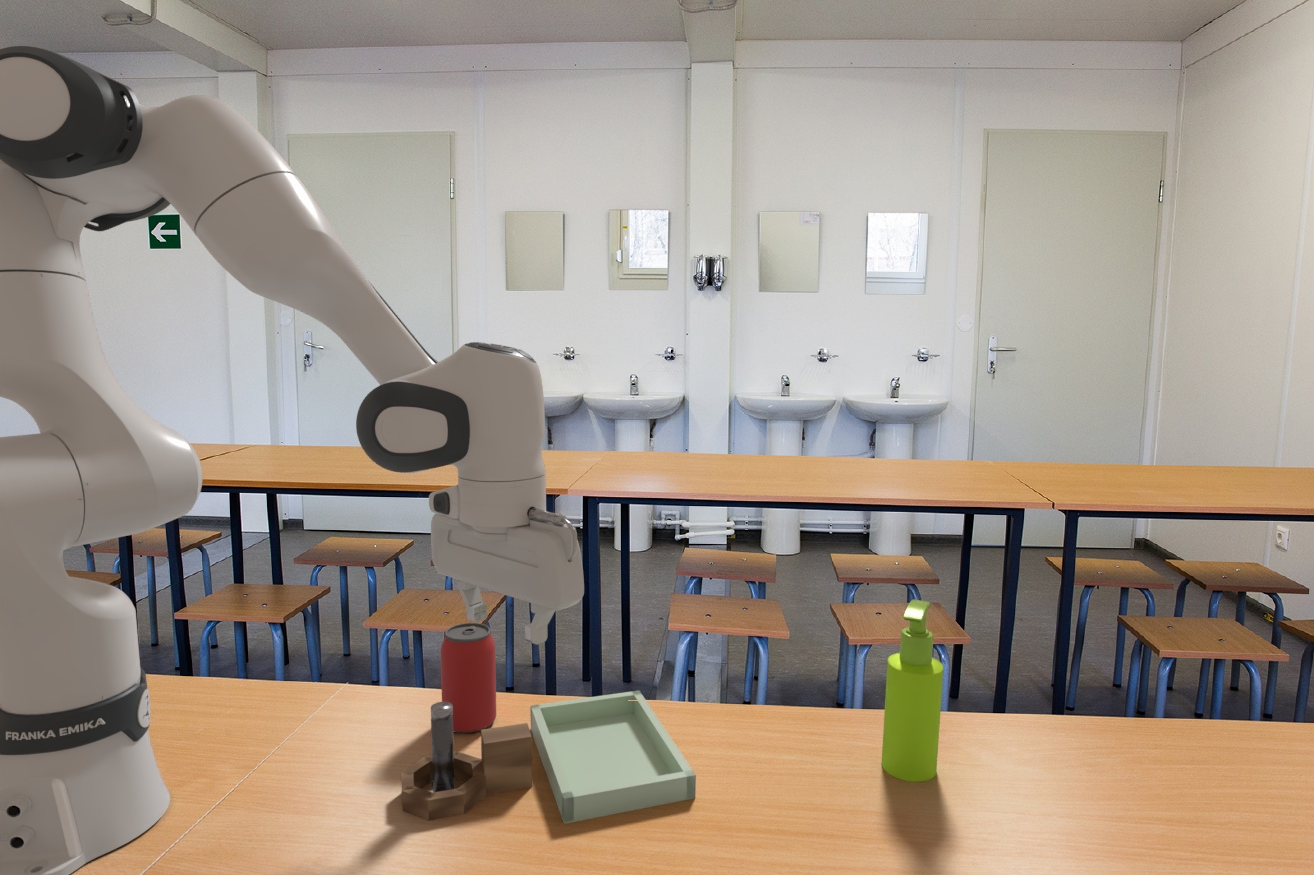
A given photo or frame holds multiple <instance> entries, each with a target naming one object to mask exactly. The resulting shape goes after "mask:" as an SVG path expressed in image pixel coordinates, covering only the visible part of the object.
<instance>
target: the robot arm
mask: <svg viewBox="0 0 1314 875" xmlns="http://www.w3.org/2000/svg"><path fill="white" fill-rule="evenodd" d="M170 205H171V206H172V207H173V208H174V209H175V211H177V213H178V214H179V215H180V217H181V218H182V219H183V220H184V221H185V223H186V225H188V227H189V228H190V229H191V231H192V232H193V233H194V235H195V236H196V237H197V238H198V239H199V241H200V242H201V244H202V245H203V246H204V248H205V249H206V251H208V253H209V254H210V255H211V257H213V259H214V260H215V261H216V262H217V263H218V264H219V265H220V266H221V267H222V268H223V269H224V270H226V272H227V273H229V274H230V275H231V277H233V278H234V279H235V280H237V282H238V283H240V284H241V285H242V286H244V287H245V288H246V290H248V291H250V292H251V293H253V294H256V295H258V296H260V297H263V298H266V299H268V300H271V301H274V302H276V303H279V304H281V305H284V306H287V307H289V308H291V309H294V310H296V311H299V312H301V313H303V314H305V315H307V316H309V317H311V318H312V319H314V320H316V321H318V322H320V323H321V324H323V325H324V326H326V327H327V328H329V329H330V330H331V332H333V333H334V334H335V335H336V336H337V337H338V338H339V339H340V340H341V341H343V343H344V344H345V346H346V347H347V348H348V349H349V350H350V351H351V352H352V354H354V356H355V357H356V358H357V359H358V360H359V362H360V363H361V364H362V366H364V367H365V369H366V370H367V371H368V372H369V374H370V375H371V376H372V377H373V378H374V379H375V380H376V382H377V383H378V384H379V385H378V386H376V387H374V388H373V389H372V390H370V392H369V393H368V394H367V395H366V396H365V397H364V398H363V399H362V402H361V403H360V405H359V408H358V409H357V410H358V411H357V414H356V418H355V419H356V420H355V422H356V423H355V426H356V429H355V430H356V436H357V439H358V441H359V444H360V446H361V448H362V450H363V452H364V453H365V454H366V456H367V457H368V458H369V459H370V460H371V461H372V462H373V463H374V464H376V465H377V466H379V467H380V468H382V469H384V470H387V471H389V472H393V473H401V474H402V473H404V474H412V473H413V474H414V473H421V472H425V471H428V470H431V469H432V470H433V469H437V468H441V467H445V466H454V467H456V470H457V481H458V482H457V483H458V484H457V485H452V486H450V487H446V488H443V489H439V490H435V491H433V492H430V494H429V495H428V507H429V510H430V512H432V513H434V515H433V516H432V518H431V522H430V546H431V559H432V563H433V565H434V567H435V570H436V571H437V573H438V574H439V575H444V576H446V577H449V578H452V579H456V580H457V589H458V591H459V593H460V595H461V598H462V600H463V603H464V605H465V609H466V610H465V614H466V619H467V620H469V621H471V622H473V623H479V622H482V621H483V622H484V621H486V620H487V618H488V616H489V614H488V603H487V602H484V601H483V598H482V594H481V591H480V588H483V589H486V590H489V591H492V592H496V593H499V594H502V595H505V596H507V597H510V598H514V599H516V600H521V601H523V602H526V603H529V604H530V611H531V613H533V614H534V616H533V618H532V621H531V623H528V624H526V625H524V633H525V635H524V639H525V641H527V642H529V643H532V644H534V645H540V644H543V643H545V642H546V641H548V640H547V639H548V625H549V624H550V623H551V620H552V618H553V617H554V614H555V612H558V611H562V610H565V609H567V608H570V607H572V606H574V605H577V604H578V603H579V602H580V601H581V600H582V598H583V597H584V594H585V583H584V582H585V581H584V580H585V579H584V569H583V561H582V554H581V549H580V544H579V541H578V533H577V528H576V527H574V526H573V524H572V523H571V522H570V521H569V520H568V518H567V516H566V515H564V514H562V513H559V512H551V511H548V510H547V483H546V482H547V481H546V480H547V479H546V478H547V475H546V465H545V463H544V459H543V454H542V447H543V446H542V445H543V440H544V437H545V432H546V418H545V417H546V416H545V415H546V414H545V398H544V396H545V395H544V388H543V387H544V386H543V380H542V375H541V371H540V367H539V365H538V363H537V361H536V360H535V359H534V358H533V356H531V355H530V354H529V353H528V352H526V351H524V350H523V349H521V348H520V349H518V348H515V347H510V346H506V345H502V344H496V343H486V342H479V341H477V342H476V341H475V342H474V341H473V342H468V343H465V344H462V345H461V346H460V347H459V348H458V349H457V350H455V352H454V353H452V354H450V355H448V356H447V357H445V358H444V359H441V360H440V361H438V360H437V359H436V358H434V357H433V356H432V355H431V354H430V353H429V352H428V351H427V350H426V348H424V346H423V345H422V344H421V343H420V342H419V340H418V339H417V338H416V337H415V335H414V334H413V333H412V332H411V331H410V329H409V328H408V327H407V326H406V325H405V323H404V322H403V321H402V319H401V318H400V317H399V316H398V315H397V313H396V312H395V311H394V310H393V309H392V307H391V306H390V305H389V304H388V302H387V301H386V300H385V299H384V298H383V296H382V295H381V294H380V293H379V292H378V291H377V289H376V288H375V287H374V286H373V285H372V283H371V281H370V280H368V277H366V274H364V272H363V270H362V268H360V266H359V264H358V263H357V261H356V260H355V258H354V257H353V256H352V254H351V253H350V251H349V250H348V249H347V246H346V245H345V244H344V242H343V241H342V239H341V238H340V236H339V234H338V233H337V232H336V230H335V228H334V227H333V226H332V224H331V222H330V221H329V219H328V218H327V216H326V215H325V213H324V212H323V211H322V209H321V207H320V206H319V204H318V203H317V202H316V200H315V199H314V197H313V195H312V194H311V193H310V191H309V190H308V188H307V187H306V185H305V184H304V183H303V182H302V181H301V179H300V178H299V177H298V175H297V174H296V173H295V171H294V170H293V169H292V168H291V165H289V164H288V162H287V161H286V160H285V159H284V158H283V157H282V155H281V154H280V153H279V152H278V151H277V150H276V148H275V147H274V146H273V145H272V144H271V143H270V142H269V141H268V139H266V138H265V136H263V135H262V133H261V132H260V131H258V129H257V128H256V127H254V126H253V124H252V123H250V121H249V120H248V119H246V118H245V117H244V116H243V115H242V114H241V113H240V112H239V111H238V110H237V109H235V108H234V107H233V106H232V105H231V104H229V103H227V102H226V101H225V100H222V99H219V98H217V97H214V96H209V95H203V94H202V95H201V94H197V95H195V94H194V95H186V96H182V97H179V98H175V99H173V100H171V101H170V102H167V103H165V104H163V105H160V106H157V107H156V106H154V107H152V106H148V105H145V104H142V103H140V102H139V100H138V98H137V96H136V93H135V92H134V91H133V89H132V88H130V87H129V86H128V85H127V84H124V83H121V82H119V81H117V80H116V79H114V78H111V77H109V76H107V75H104V74H102V73H101V72H98V71H97V70H95V69H93V68H91V67H89V66H87V65H85V64H83V63H81V62H78V61H77V60H74V59H72V58H71V57H68V56H65V55H62V54H60V53H57V52H55V51H51V50H48V49H45V48H41V47H36V46H31V45H30V46H29V45H16V46H14V45H13V46H8V47H4V48H0V398H4V399H7V400H9V401H13V402H14V403H16V404H17V405H18V406H20V407H21V408H22V409H24V410H25V411H26V412H27V413H28V414H29V415H30V416H31V418H32V419H33V420H34V422H35V423H36V425H37V427H38V430H39V433H31V434H20V435H19V434H18V435H10V436H9V435H8V436H0V875H71V874H72V873H73V872H75V871H76V870H78V869H79V868H81V867H82V866H84V865H85V864H87V863H88V862H91V861H92V860H94V859H96V858H98V857H100V856H103V855H105V854H108V853H110V852H112V851H114V850H116V849H118V848H120V847H122V846H124V845H125V844H128V843H129V842H131V841H133V840H134V839H136V838H138V837H139V836H140V835H142V834H143V833H145V832H146V831H147V830H149V829H150V828H151V827H152V826H154V825H155V824H156V823H157V822H158V821H159V820H160V819H161V818H162V816H163V815H164V814H165V813H166V812H167V809H168V807H169V805H170V804H171V803H170V802H171V792H170V791H169V788H168V787H167V785H166V784H165V781H164V779H163V777H162V775H161V771H160V769H159V766H158V763H157V760H156V757H155V753H154V749H153V746H152V742H151V738H150V737H151V736H150V733H149V732H150V731H149V727H150V723H151V715H152V714H151V712H152V711H151V698H150V690H149V688H148V682H147V674H146V672H145V670H144V669H143V668H141V659H140V647H139V636H138V623H137V612H136V607H135V606H134V604H133V601H132V600H131V599H130V597H129V596H128V595H127V594H126V593H125V592H124V591H122V590H121V589H119V588H118V587H116V586H115V585H114V586H113V585H111V584H109V583H105V582H102V581H98V580H93V579H88V578H83V577H76V576H70V575H69V573H68V572H67V570H66V568H65V564H64V557H63V556H64V551H65V550H68V549H70V548H74V547H78V546H83V545H88V544H93V543H98V542H102V541H107V540H108V541H109V540H112V539H117V538H122V537H126V536H132V535H137V534H140V533H144V532H147V531H150V530H152V529H155V528H157V527H159V526H162V525H165V524H167V523H169V522H172V521H174V520H176V519H179V518H181V517H184V516H185V515H187V514H189V513H190V511H191V510H192V509H193V508H194V506H195V505H196V503H197V501H198V499H199V497H200V494H201V492H202V487H203V468H202V464H201V460H200V458H199V456H198V453H197V451H196V450H195V448H194V447H193V445H192V444H191V443H190V442H189V441H188V440H187V439H186V437H184V436H182V434H180V433H179V432H178V431H176V430H174V429H172V428H170V427H169V426H166V425H164V424H162V423H161V422H159V421H157V420H156V419H155V418H153V417H151V415H149V414H148V413H146V412H145V411H144V410H143V409H142V408H141V407H140V406H139V405H138V404H136V402H135V401H134V400H133V399H132V398H131V397H130V396H129V395H128V394H127V392H126V391H125V389H124V388H123V387H122V385H121V384H120V383H119V381H118V380H117V378H116V377H115V375H114V374H113V373H114V372H113V370H111V368H110V366H109V364H108V361H107V359H106V356H105V354H104V353H105V352H104V351H103V347H102V343H101V341H100V340H101V339H100V336H99V333H98V329H97V325H96V320H95V317H94V313H93V309H92V305H91V304H92V303H91V298H90V295H89V289H88V284H87V279H86V275H85V269H84V266H83V260H82V255H81V248H80V247H81V246H80V240H81V233H82V231H83V229H84V228H85V229H88V230H91V231H95V232H105V231H109V230H111V229H113V228H116V227H118V226H121V225H122V224H126V223H128V222H134V221H138V220H143V219H145V218H149V217H151V216H155V215H157V214H159V213H161V212H162V211H163V210H165V209H166V208H168V207H169V206H170ZM92 223H93V224H92ZM95 224H97V225H95Z"/></svg>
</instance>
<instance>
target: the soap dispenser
mask: <svg viewBox="0 0 1314 875" xmlns="http://www.w3.org/2000/svg"><path fill="white" fill-rule="evenodd" d="M930 607H931V602H929V601H925V600H918V599H912V600H910V602H909V603H908V605H907V607H906V609H905V612H904V615H903V620H904V621H908V622H909V626H907V627H904V628H902V629H901V632H900V646H899V652H896V653H893V654H891V655H889V656H888V658H887V666H886V667H887V668H886V683H885V698H884V701H885V702H884V716H883V730H882V731H883V732H882V746H881V747H882V750H881V766H882V767H881V768H882V769H883V770H884V771H885V772H886V773H888V775H890V776H891V777H894V778H896V779H900V780H901V781H902V780H903V781H906V782H914V783H918V782H919V783H921V782H922V783H923V782H927V781H931V779H933V778H935V777H936V775H937V765H938V755H939V753H938V752H939V751H938V750H939V738H940V737H939V736H940V724H941V711H942V710H941V709H942V698H943V697H942V695H943V681H944V680H943V679H944V665H943V664H942V662H941V661H939V660H938V659H936V658H934V657H933V646H934V633H933V632H932V631H931V630H929V629H927V616H928V611H929V610H930Z"/></svg>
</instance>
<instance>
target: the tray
mask: <svg viewBox="0 0 1314 875" xmlns="http://www.w3.org/2000/svg"><path fill="white" fill-rule="evenodd" d="M628 700H642V701H628ZM529 711H530V733H531V736H532V739H533V740H534V743H535V746H536V748H537V751H538V754H539V758H540V760H541V764H542V765H543V769H544V771H545V774H546V777H547V779H548V783H549V786H550V787H551V788H550V789H551V791H552V794H553V797H554V800H555V802H556V805H557V808H558V812H559V814H560V817H561V820H562V822H563V824H564V825H566V824H570V823H571V824H572V823H575V822H580V821H586V820H591V819H596V818H600V817H601V818H602V817H606V816H612V815H617V814H621V813H626V812H631V811H636V810H641V809H647V808H653V807H657V806H662V805H667V804H673V803H676V802H677V803H678V802H683V801H688V800H692V799H696V793H697V790H696V789H697V787H696V786H697V781H696V780H697V774H696V773H695V772H694V770H693V769H692V767H691V766H690V764H689V762H688V761H687V759H686V758H685V756H684V754H683V753H682V752H681V750H680V749H679V748H678V746H677V745H676V743H675V741H674V740H673V738H672V737H671V736H670V733H668V731H667V729H666V728H665V727H664V725H663V724H662V722H661V720H660V719H659V718H658V716H657V714H656V713H655V712H654V710H653V709H652V707H651V706H650V704H649V702H648V701H647V700H646V698H645V697H644V695H643V694H642V692H641V691H640V690H633V691H625V692H617V693H611V694H603V695H596V696H589V697H582V698H576V699H568V700H561V701H554V702H545V703H539V704H532V705H530V710H529Z"/></svg>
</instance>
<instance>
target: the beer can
mask: <svg viewBox="0 0 1314 875" xmlns="http://www.w3.org/2000/svg"><path fill="white" fill-rule="evenodd" d="M492 635H493V634H492V629H491V627H489V626H488V625H486V624H485V623H479V622H464V623H458V624H455V625H452V626H450V627H449V628H447V629H445V631H444V638H443V641H442V643H441V647H440V678H441V679H440V680H441V684H440V685H441V702H450V703H452V705H453V733H458V734H459V733H460V734H471V733H476V732H481V730H482V729H488V727H490V726H491V725H492V724H493V723H494V722H495V721H496V717H497V677H496V676H497V674H496V673H497V672H496V669H497V668H496V666H497V664H496V662H497V660H496V659H497V658H496V656H497V655H496V644H495V641H494V638H493V636H492Z"/></svg>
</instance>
